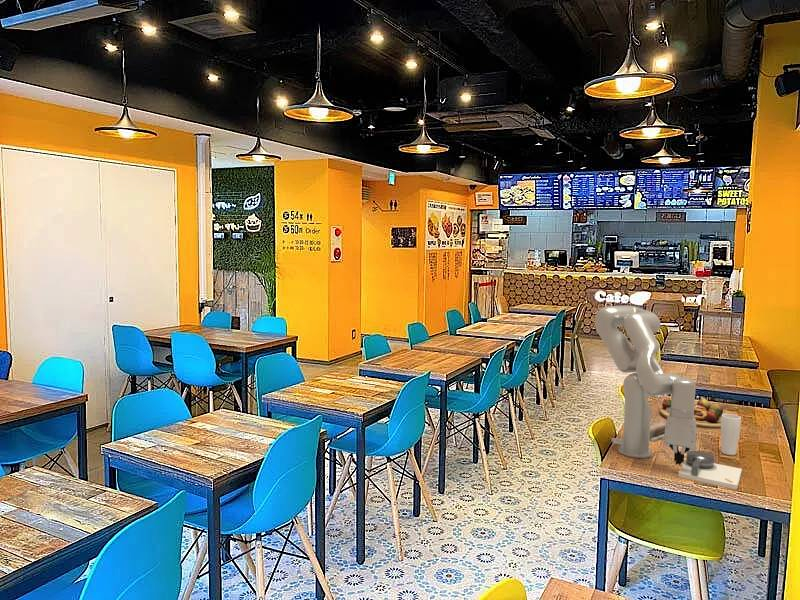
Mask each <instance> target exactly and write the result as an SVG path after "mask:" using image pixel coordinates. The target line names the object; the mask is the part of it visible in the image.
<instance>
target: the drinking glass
mask: <svg viewBox="0 0 800 600" xmlns="http://www.w3.org/2000/svg"><path fill="white" fill-rule="evenodd" d="M741 425H742V417H741V416H740V415H738V414H733V413H726V414H722V418H721V429H720V441H721V442H720V443H721V445H720V452H721V454H724V455H726V456H736V455H737V450H738V446H739V445H738V444H739V439H740V434H741V428H742V427H741Z"/></svg>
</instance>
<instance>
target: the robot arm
mask: <svg viewBox="0 0 800 600" xmlns="http://www.w3.org/2000/svg"><path fill="white" fill-rule="evenodd" d="M594 325H595V330H596V332H597V334H598V336H599V337H600V338H601V340H602V342H603V343H604V344H605V346H606V348H607V350H608V352H609V354H610V356H611V358H612V360H613V362H614V364H615V366H616V367H617V369H618V370H619V371H620V373H625V374H627V373H631V374H628V375H627V376H626V377H624V380H623V383H622V384H623V385H622V386H623V394H624V413H623V415H624V416H623V433H622V438H616V437H611V441H610V442H611V443H612V444H613V445H616V446H617V445H618V448H617V451H618V452H619V453H620V454H622V455H624V456H625V457H630V458H633V459H634V458H635V459H649V458H651V457H653V456H654V455H653V454H654V453H653V450H652V449H650V441H649V437H650V424H651V420H652V419H651V418H652V406H651V404H650V402H649V400H648V398H651V397H658V396H666V395H671V396H670V399H671V407H670V408H666V411H667V412H669V413H670V414H669V415H668V416H667V419H666V421H665V422H666V425H665V433H664V439H663V445H665V446H666V447H669V448H670V449H671V450H672V451H673V453H674V454H673V461H674V462H675V465H679V466H681V465H682V463H683V462H684V460H685V454H687V452H688V451H697V449H698V448H697V434H698V433H697V430H698V429H697V428H698V427H696V419H695V418H694V405H696V404H695V400H696V399H695V398H696V385H697V383H696V382H695V381H694V380H693V379H691V378H687V377H683V376H680V375H679V374H676V373H672V372H669V373H665V372H664V370H663V367H662V366H661V364H660V363H659V361H658V359H657V358H656V356H655V354H656V353H657V352H658V351H659V350H660V348H661V347H660V346H661V345H660V343H659V341H658V339H657V338H656V335H655V334H656V333H657V332H659V331H660V329H661V321H660V318H659V317H658V315H657V314H655V313H654V312H652V311H649V310H646V309H643V308H642V307H641V308H640V307H637V306H634V305H611V306H604V307H602V308H600V309H598V310H597V312H596V313H595V318H594ZM618 327H619V328H620V327H621V328H624V330H625V332H626V334H627V336H626V335H625V334H624V333H623V332H621V331H620V330H619V329H618ZM627 337H628V338H627ZM628 339H629V340H630V341H629V340H628ZM630 342H631V343H630ZM632 345H633V346H632ZM679 447H681V450H680V449H679Z"/></svg>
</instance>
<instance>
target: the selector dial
mask: <svg viewBox="0 0 800 600" xmlns="http://www.w3.org/2000/svg"><path fill="white" fill-rule="evenodd" d="M685 457H686V459H685V460H686V463H687V464H688V465H690V466H692V471H691V473H692V474H697V475H698V473H699V471H700V469H701V468H702V469H711V468H713V467H714V463H715V455H713V454H711V453H709V452H707V451H701V450H693V451H690V450H689V451H687V452H686V456H685Z"/></svg>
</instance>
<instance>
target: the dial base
mask: <svg viewBox="0 0 800 600" xmlns="http://www.w3.org/2000/svg"><path fill="white" fill-rule="evenodd" d="M682 463H683V464H682V466H681V468H680V470H679V472H678V474H677V475H678V476H677V477H678V478H681V479H686V480H691V481H695V482H700V483H704V484H709V485H714V486H718V487H724V488H728V489H733V490H738V487H739V483H740V479H741V476H742V471H743V469H742V468H740V467H736V466H735V467H734V466H730V465H725V464H719V463H715V462H714V467H713V468H711V469H702V468H701V469H700V471H699V473H698V475H697V474H692V473H691V471H692V466H690V465H688V464H687V463H686V459H684V462H682Z"/></svg>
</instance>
